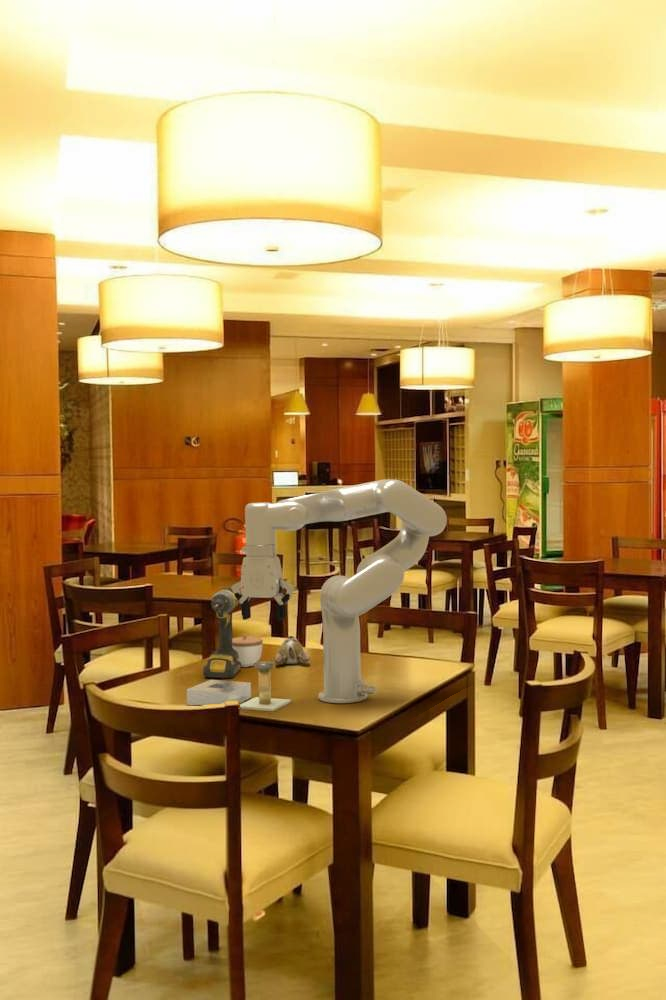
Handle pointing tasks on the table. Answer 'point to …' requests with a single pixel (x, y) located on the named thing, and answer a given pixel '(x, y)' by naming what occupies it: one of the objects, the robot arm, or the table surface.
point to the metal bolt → (264, 681)
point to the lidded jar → (247, 649)
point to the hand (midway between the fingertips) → (263, 619)
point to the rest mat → (255, 705)
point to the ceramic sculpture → (291, 652)
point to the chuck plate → (218, 692)
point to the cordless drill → (223, 638)
